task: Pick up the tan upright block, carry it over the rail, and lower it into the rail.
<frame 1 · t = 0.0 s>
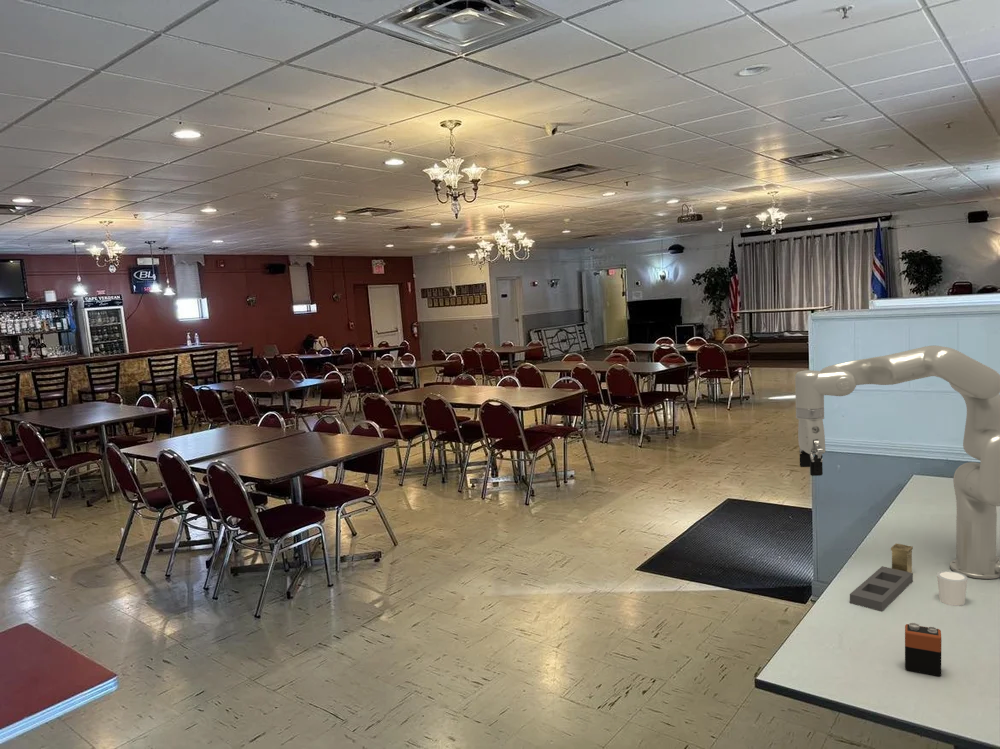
hand: (810, 470, 204), 31 cm above the table, tool pointing down, fingers open, 9 cm apart
rail: (882, 591, 192), on the table
battery: (922, 670, 154), on the table
white short cylinder: (951, 601, 184), on the table
tan upright block: (901, 573, 203), on the table
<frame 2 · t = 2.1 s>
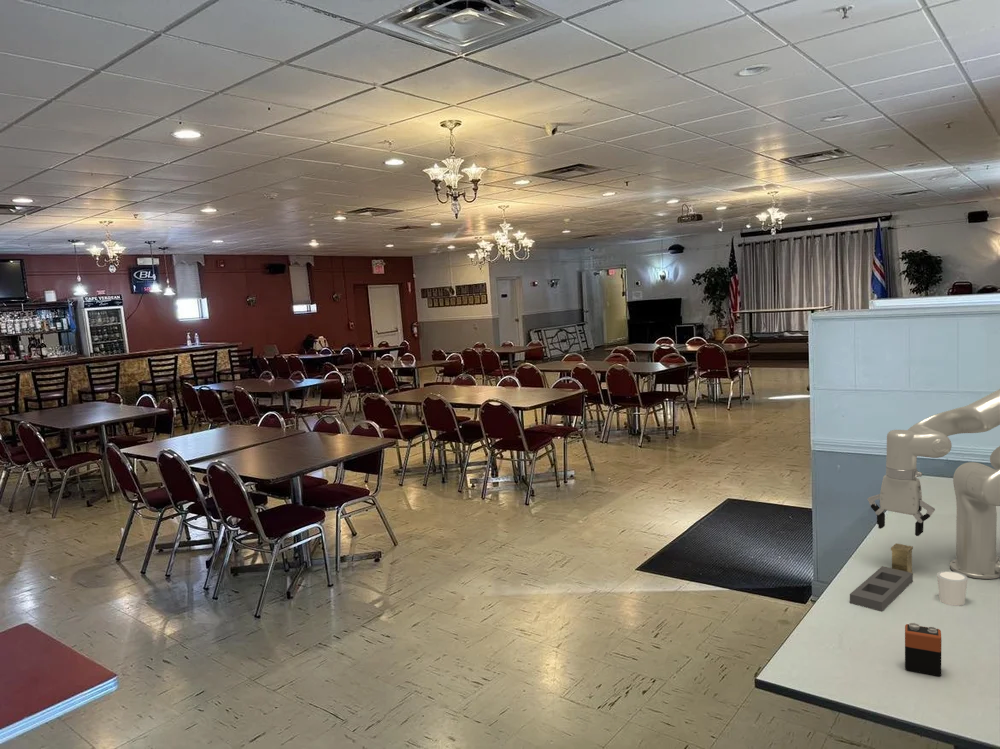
hand: (899, 531, 202), 13 cm above the table, tool pointing down, fingers open, 9 cm apart
nothing on the table moved.
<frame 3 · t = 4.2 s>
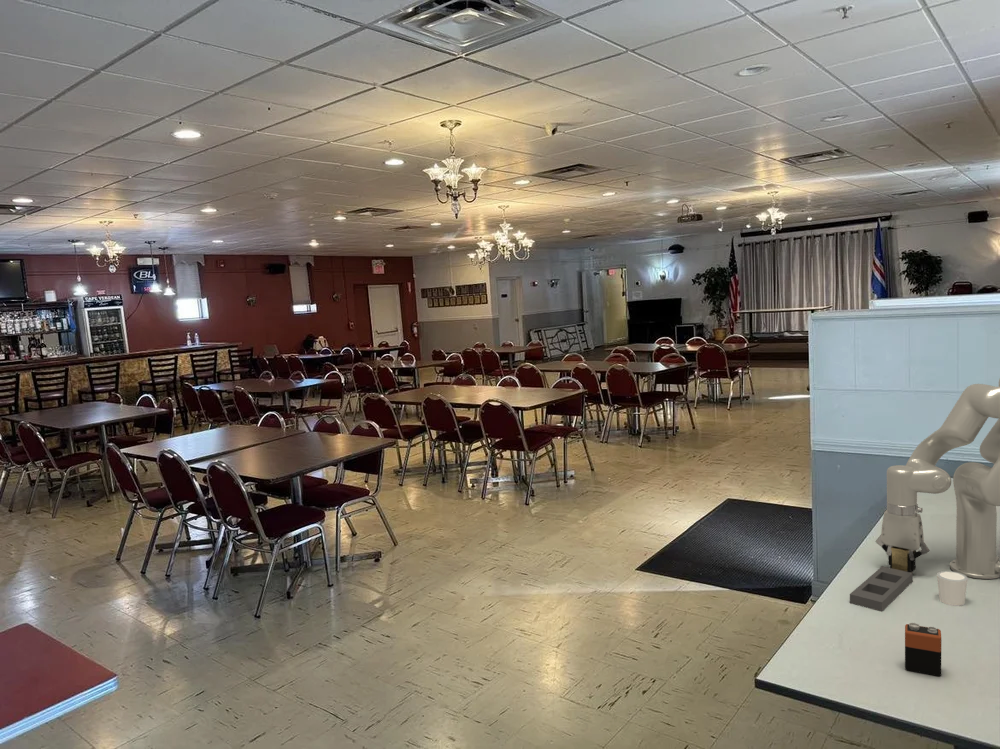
hand: (901, 569, 203), 1 cm above the table, tool pointing down, fingers closed on tan upright block, 4 cm apart
tan upright block: (901, 573, 203), on the table, touching gripper
everything else where it was.
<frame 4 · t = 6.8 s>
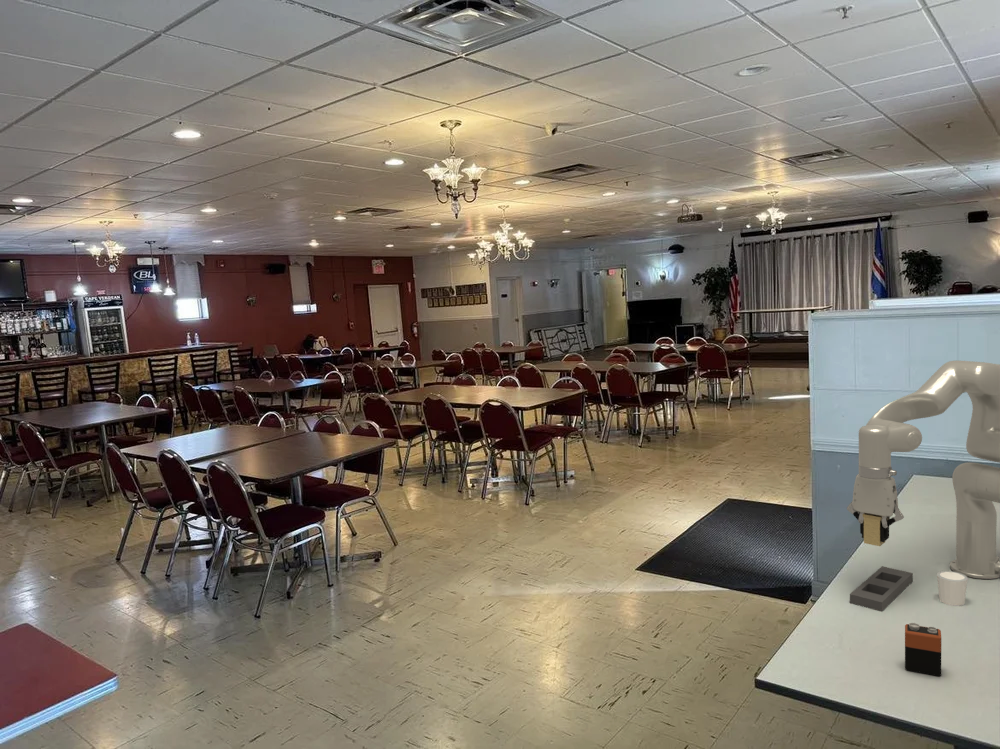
hand: (874, 538, 187), 17 cm above the table, tool pointing down, fingers closed on tan upright block, 4 cm apart
tan upright block: (874, 542, 187), point 16 cm above the table, touching gripper
everything else where it was.
when the fingers open (3 cm above the table, at t = 9.8 s): tan upright block drops 1 cm, resting in rail.
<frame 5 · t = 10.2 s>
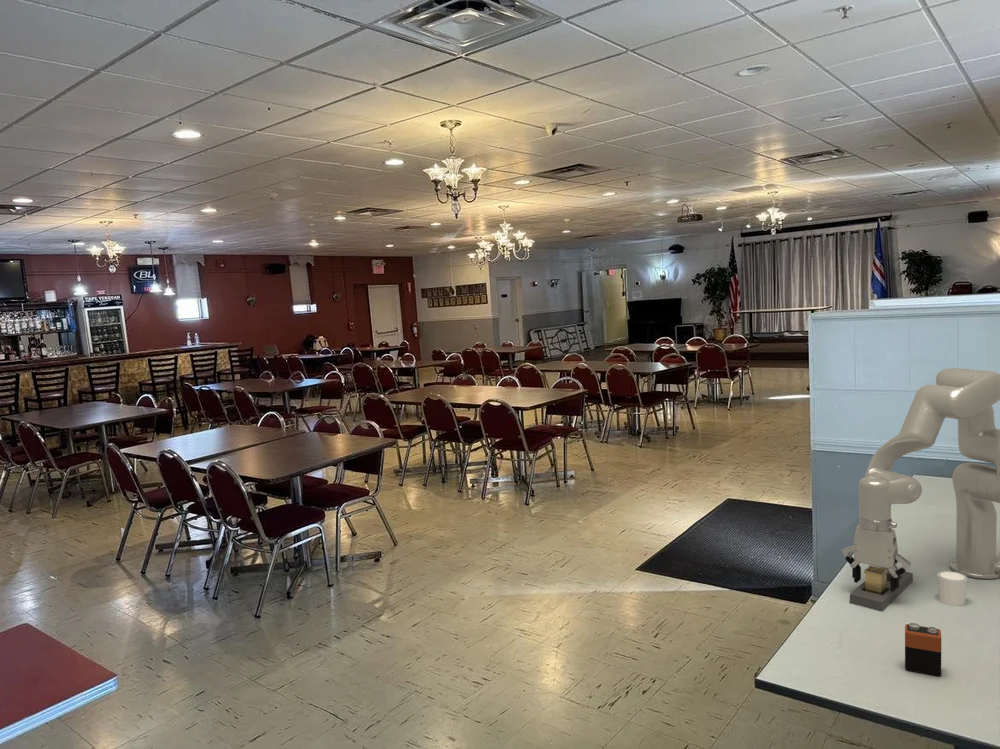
hand: (875, 585, 188), 4 cm above the table, tool pointing down, fingers open, 8 cm apart
tan upright block: (876, 598, 189), resting in rail
everything else where it was.
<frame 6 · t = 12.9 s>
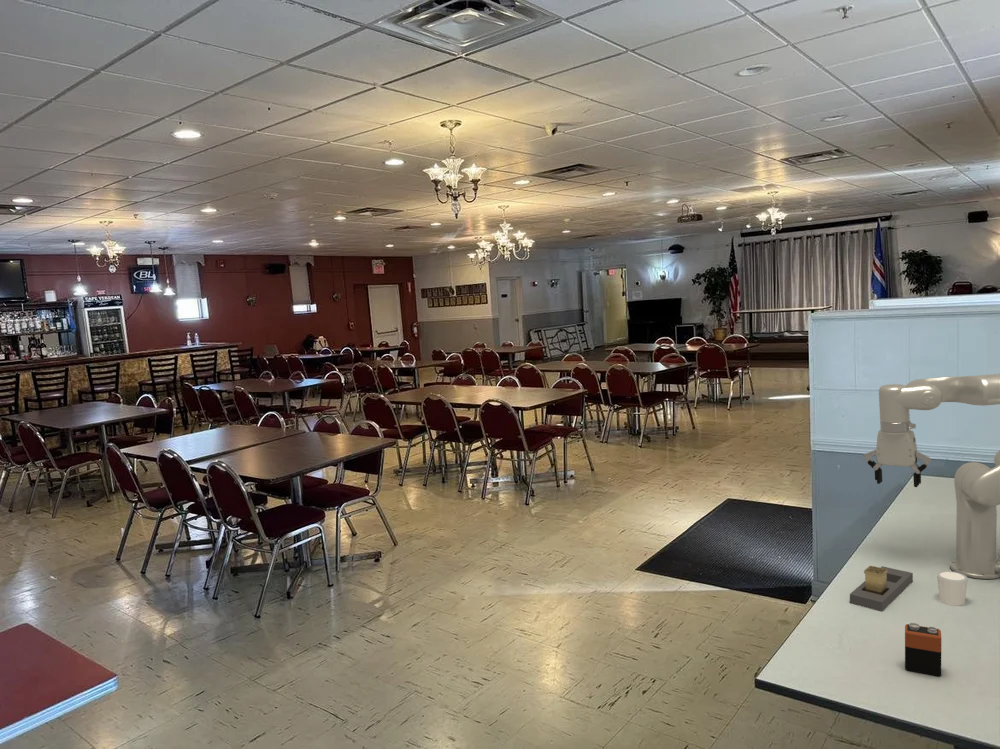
hand: (897, 484, 204), 25 cm above the table, tool pointing down, fingers open, 9 cm apart
nothing on the table moved.
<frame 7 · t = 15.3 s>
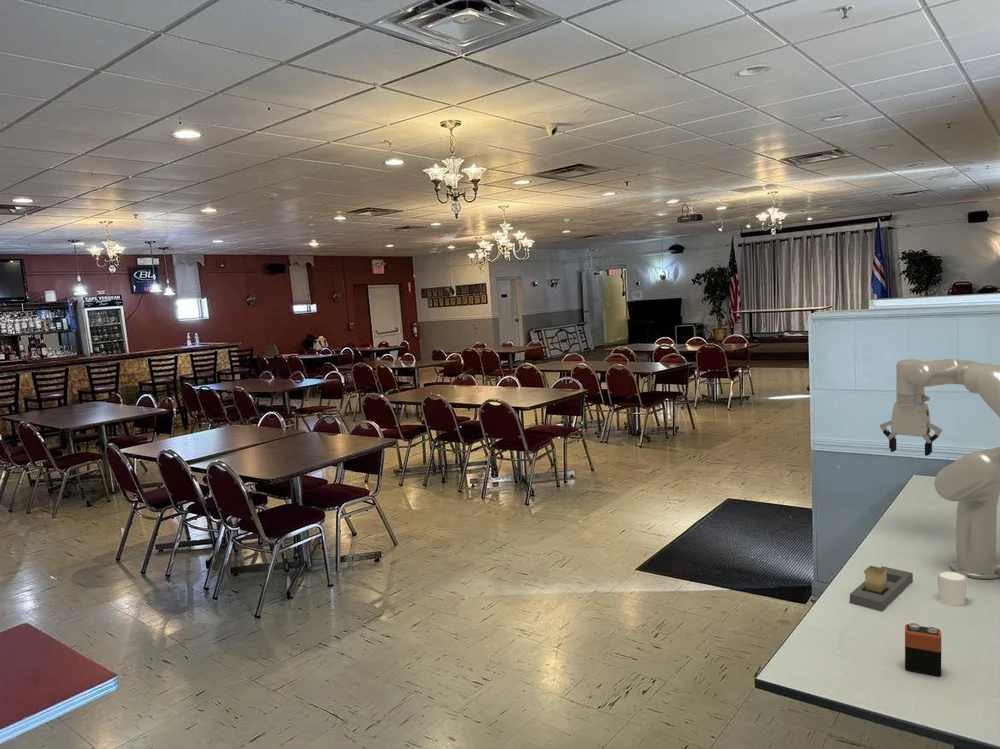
hand: (910, 452, 219), 30 cm above the table, tool pointing down, fingers open, 9 cm apart
nothing on the table moved.
at the end: tan upright block 0.1 cm from the target spot on the rail, point 0.0 cm above the rail's base; tan upright block tilted 0°; the gripper is holding nothing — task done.
